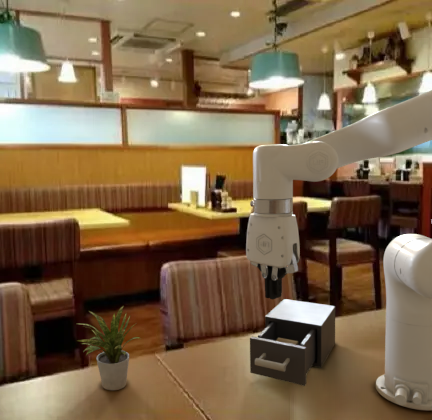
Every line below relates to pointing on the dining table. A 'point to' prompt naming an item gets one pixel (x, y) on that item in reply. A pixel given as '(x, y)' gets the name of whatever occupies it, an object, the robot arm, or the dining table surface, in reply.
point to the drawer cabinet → (308, 323)
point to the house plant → (110, 352)
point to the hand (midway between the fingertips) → (273, 297)
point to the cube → (287, 341)
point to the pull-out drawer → (283, 352)
